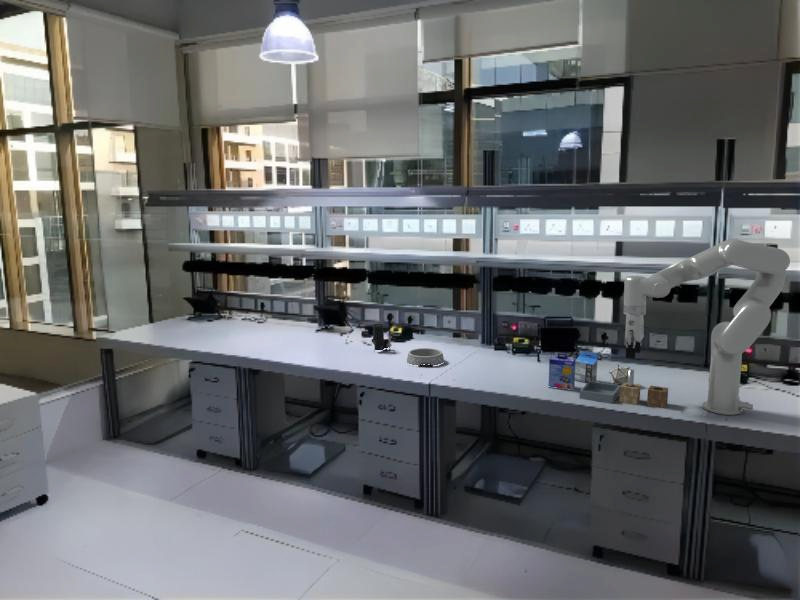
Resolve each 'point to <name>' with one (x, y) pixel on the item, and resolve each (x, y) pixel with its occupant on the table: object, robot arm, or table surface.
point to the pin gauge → (630, 378)
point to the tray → (600, 392)
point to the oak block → (630, 394)
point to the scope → (380, 338)
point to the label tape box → (586, 367)
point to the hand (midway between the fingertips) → (633, 355)
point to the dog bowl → (425, 356)
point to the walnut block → (657, 396)
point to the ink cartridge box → (562, 372)
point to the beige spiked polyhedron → (620, 375)
